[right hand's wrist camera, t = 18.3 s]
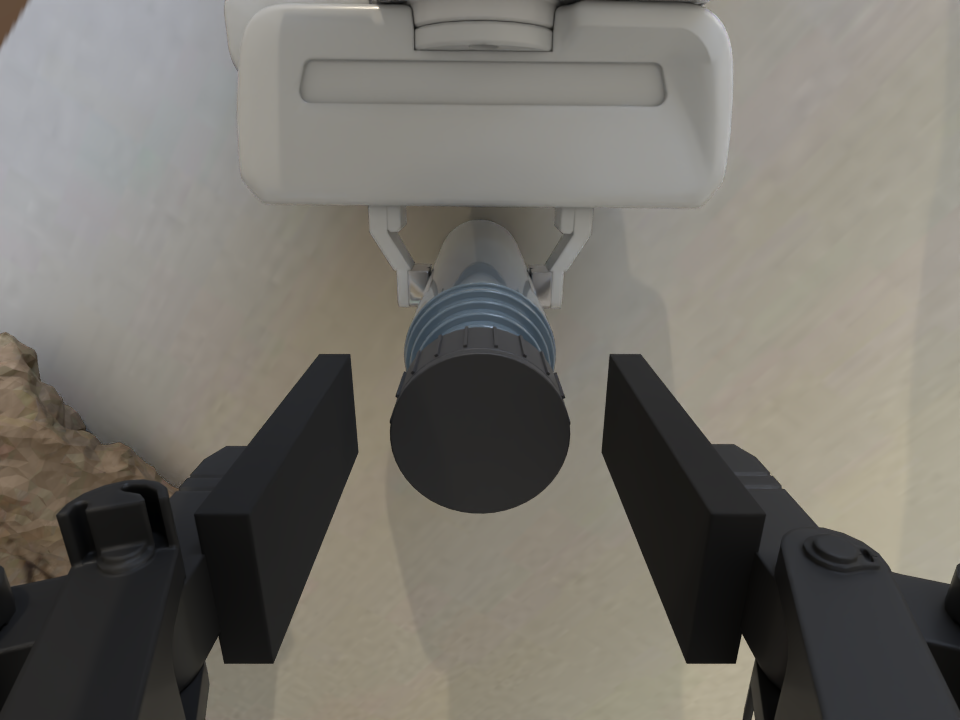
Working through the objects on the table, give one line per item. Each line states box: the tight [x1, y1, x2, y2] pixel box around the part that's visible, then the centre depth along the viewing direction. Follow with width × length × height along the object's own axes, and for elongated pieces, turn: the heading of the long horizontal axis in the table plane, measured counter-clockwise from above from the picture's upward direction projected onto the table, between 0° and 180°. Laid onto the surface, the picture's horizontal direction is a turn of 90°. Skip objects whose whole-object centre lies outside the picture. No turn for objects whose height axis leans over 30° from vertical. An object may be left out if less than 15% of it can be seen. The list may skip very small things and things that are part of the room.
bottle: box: [404, 220, 556, 372], centre depth 23 cm, size 5×5×21 cm
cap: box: [390, 326, 570, 514], centre depth 14 cm, size 4×4×2 cm
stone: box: [0, 332, 179, 587], centre depth 36 cm, size 21×15×6 cm
